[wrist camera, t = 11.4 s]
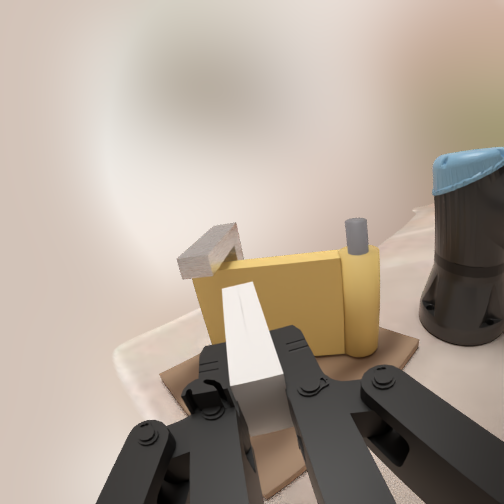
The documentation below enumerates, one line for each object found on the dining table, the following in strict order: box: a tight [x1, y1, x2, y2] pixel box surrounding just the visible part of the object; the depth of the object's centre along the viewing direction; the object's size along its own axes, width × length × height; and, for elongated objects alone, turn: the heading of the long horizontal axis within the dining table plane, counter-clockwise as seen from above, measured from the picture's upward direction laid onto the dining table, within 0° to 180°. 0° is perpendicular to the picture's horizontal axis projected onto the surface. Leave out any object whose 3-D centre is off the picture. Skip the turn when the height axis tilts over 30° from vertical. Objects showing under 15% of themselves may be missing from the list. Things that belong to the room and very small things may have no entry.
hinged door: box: [192, 218, 380, 357], centre depth 30 cm, size 20×4×15 cm, turn 77°
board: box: [159, 327, 419, 500], centre depth 31 cm, size 22×25×1 cm
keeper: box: [177, 223, 244, 279], centre depth 32 cm, size 12×3×17 cm, turn 171°
